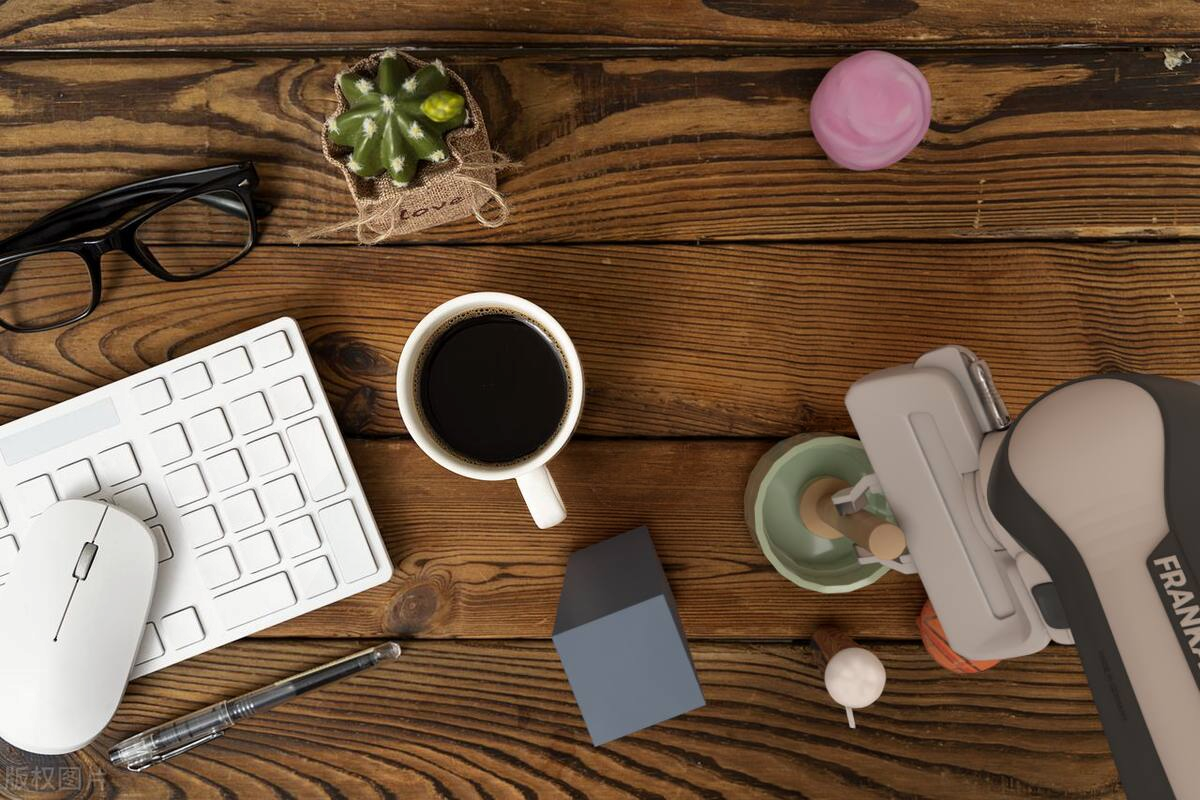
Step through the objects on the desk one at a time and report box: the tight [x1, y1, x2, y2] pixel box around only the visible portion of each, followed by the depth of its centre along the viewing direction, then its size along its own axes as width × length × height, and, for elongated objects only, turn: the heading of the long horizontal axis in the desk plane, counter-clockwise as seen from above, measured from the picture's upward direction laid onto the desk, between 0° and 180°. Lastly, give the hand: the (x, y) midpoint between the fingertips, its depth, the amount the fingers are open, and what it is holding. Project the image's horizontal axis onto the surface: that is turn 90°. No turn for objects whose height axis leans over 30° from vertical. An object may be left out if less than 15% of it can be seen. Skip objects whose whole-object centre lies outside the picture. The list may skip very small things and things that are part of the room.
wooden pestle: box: [796, 476, 906, 560], centre depth 63 cm, size 5×5×16 cm
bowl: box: [743, 431, 907, 594], centre depth 69 cm, size 12×12×6 cm
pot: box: [915, 597, 1004, 675], centre depth 70 cm, size 8×8×7 cm
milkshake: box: [808, 625, 887, 729], centre depth 68 cm, size 5×5×10 cm
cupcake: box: [809, 49, 932, 172], centre depth 67 cm, size 9×9×10 cm
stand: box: [551, 524, 707, 748], centre depth 61 cm, size 7×7×23 cm
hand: (848, 527), depth 62 cm, fingers closed on wooden pestle, 2 cm apart
